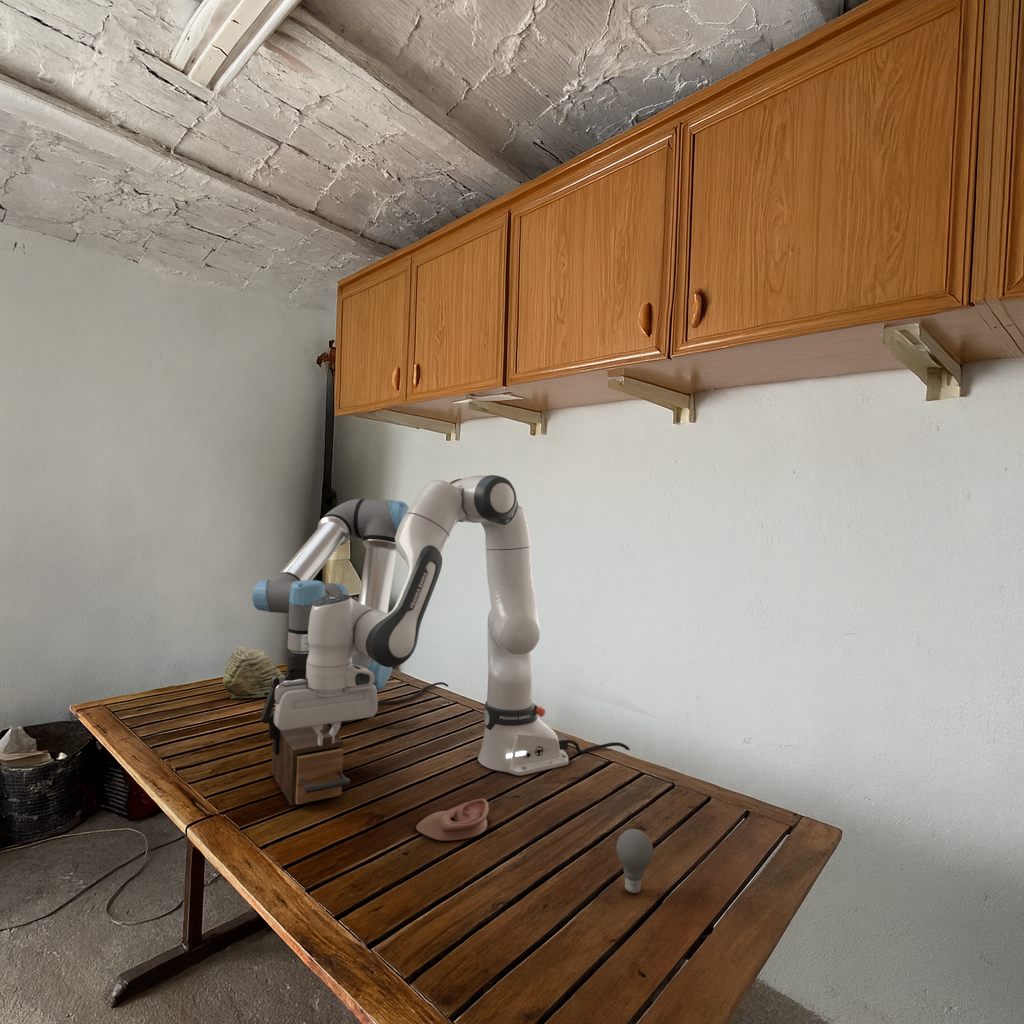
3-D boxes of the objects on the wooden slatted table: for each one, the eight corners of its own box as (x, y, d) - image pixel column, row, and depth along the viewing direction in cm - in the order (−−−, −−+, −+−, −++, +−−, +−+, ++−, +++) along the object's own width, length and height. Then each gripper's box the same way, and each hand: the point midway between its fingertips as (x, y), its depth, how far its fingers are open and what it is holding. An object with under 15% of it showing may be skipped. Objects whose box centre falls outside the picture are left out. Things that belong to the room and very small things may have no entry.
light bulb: (610, 879, 108) (613, 822, 108) (644, 879, 109) (647, 822, 109) (619, 902, 102) (622, 840, 102) (655, 901, 103) (658, 840, 103)
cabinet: (340, 795, 135) (343, 741, 135) (290, 806, 129) (293, 750, 129) (317, 764, 150) (319, 715, 149) (271, 773, 144) (273, 722, 144)
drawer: (350, 806, 128) (352, 760, 128) (304, 817, 123) (306, 768, 123) (319, 766, 146) (320, 725, 146) (278, 774, 141) (279, 732, 141)
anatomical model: (410, 815, 119) (430, 788, 131) (410, 836, 119) (430, 807, 131) (479, 825, 117) (493, 797, 128) (478, 847, 117) (492, 817, 128)
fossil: (218, 695, 195) (220, 647, 195) (278, 685, 208) (279, 640, 207) (228, 703, 189) (230, 653, 188) (289, 692, 201) (290, 645, 201)
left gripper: (254, 658, 133) (250, 763, 133) (360, 649, 145) (356, 744, 146) (247, 651, 139) (243, 750, 140) (349, 642, 152) (345, 733, 152)
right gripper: (278, 686, 119) (275, 759, 119) (382, 674, 130) (379, 741, 130) (271, 677, 124) (268, 747, 125) (371, 666, 135) (368, 731, 136)
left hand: (301, 747), depth 143 cm, fingers closed on cabinet, 10 cm apart
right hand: (325, 744), depth 128 cm, fingers closed
